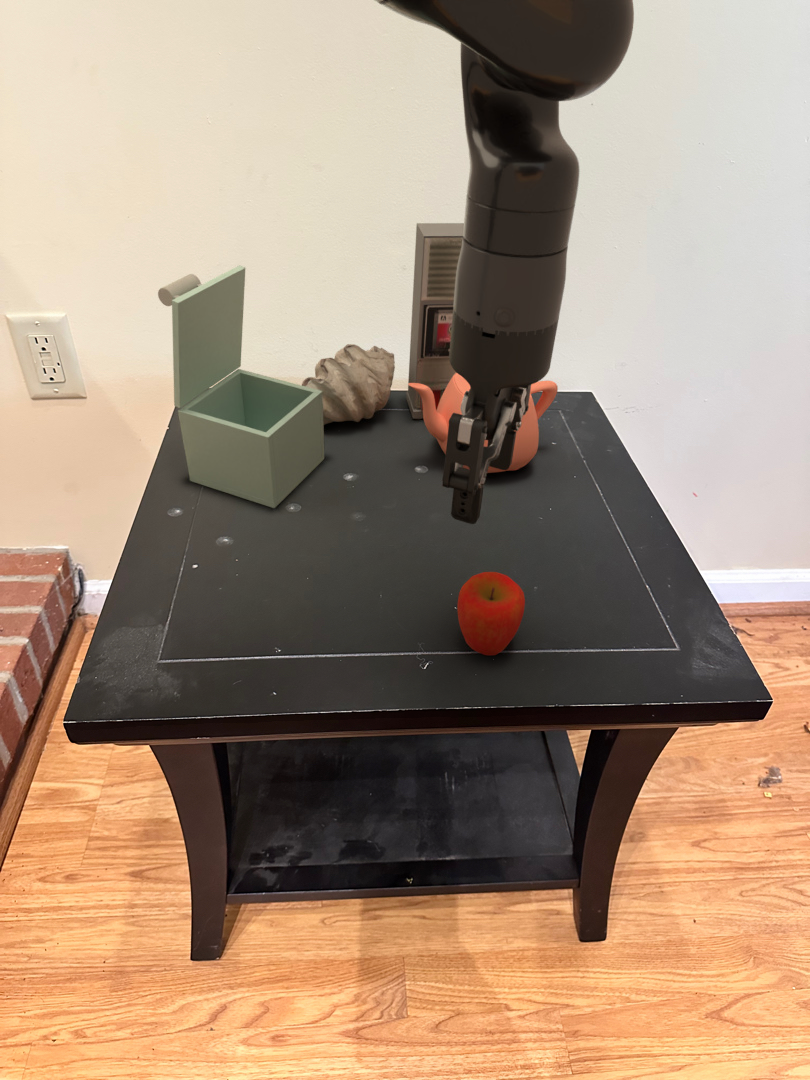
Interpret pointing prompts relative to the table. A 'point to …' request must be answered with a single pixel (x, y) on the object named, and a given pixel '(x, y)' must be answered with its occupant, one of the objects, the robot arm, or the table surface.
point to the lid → (205, 330)
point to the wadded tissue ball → (353, 383)
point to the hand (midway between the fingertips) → (482, 491)
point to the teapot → (522, 448)
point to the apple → (490, 611)
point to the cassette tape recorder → (433, 309)
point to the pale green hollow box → (253, 436)
